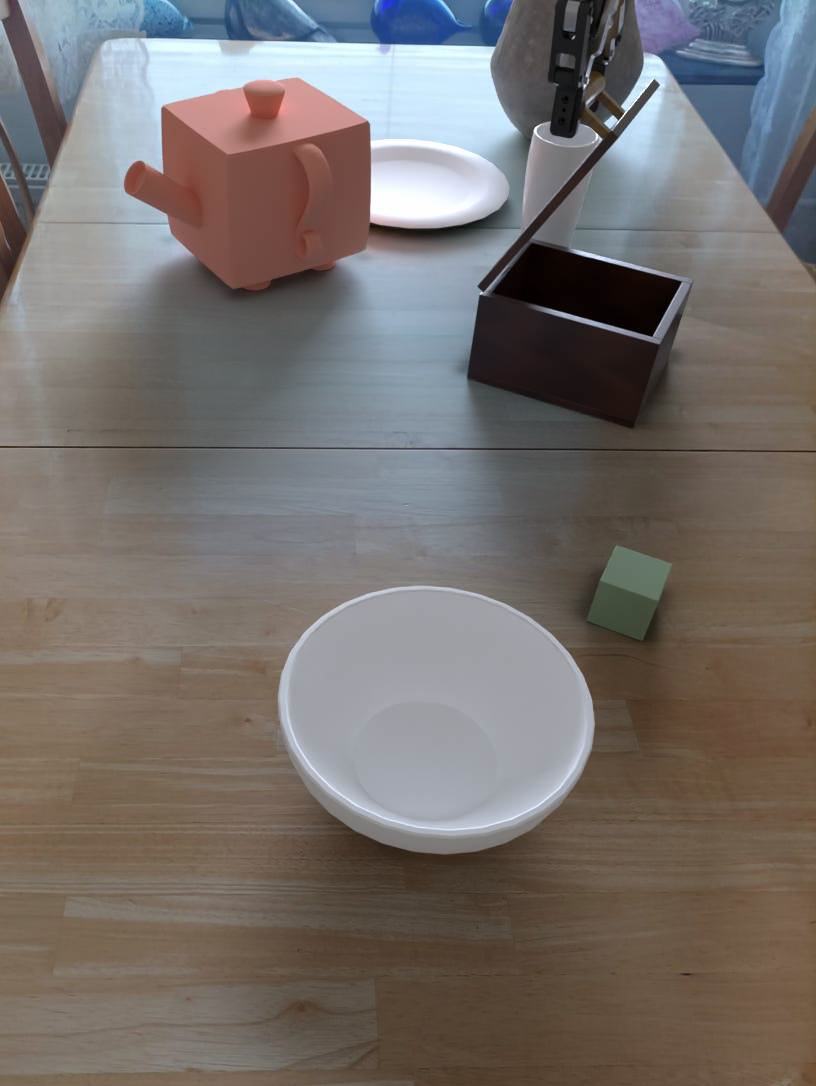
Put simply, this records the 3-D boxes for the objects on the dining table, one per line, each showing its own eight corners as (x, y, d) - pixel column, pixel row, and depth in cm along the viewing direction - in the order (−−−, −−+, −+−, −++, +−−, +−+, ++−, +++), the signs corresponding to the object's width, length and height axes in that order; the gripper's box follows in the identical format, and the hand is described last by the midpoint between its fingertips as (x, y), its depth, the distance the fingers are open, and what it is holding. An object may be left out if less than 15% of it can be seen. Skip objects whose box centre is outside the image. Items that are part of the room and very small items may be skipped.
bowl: (341, 621, 73) (345, 553, 68) (596, 700, 69) (622, 634, 64) (229, 831, 61) (223, 768, 56) (530, 944, 57) (555, 887, 52)
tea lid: (660, 84, 82) (615, 39, 81) (618, 137, 74) (568, 88, 74) (529, 235, 96) (490, 197, 95) (483, 292, 88) (439, 252, 88)
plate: (268, 184, 122) (268, 171, 121) (409, 135, 133) (411, 122, 132) (407, 262, 110) (408, 247, 109) (549, 200, 121) (552, 187, 120)
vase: (555, 177, 126) (601, -53, 107) (454, 127, 136) (479, -92, 117) (651, 141, 135) (709, -78, 116) (550, 97, 144) (588, -112, 125)
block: (657, 604, 76) (673, 563, 72) (642, 641, 73) (658, 601, 70) (602, 585, 77) (616, 544, 74) (585, 621, 74) (599, 580, 71)
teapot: (189, 342, 98) (171, 160, 84) (95, 248, 110) (67, 76, 97) (390, 279, 107) (403, 106, 94) (283, 199, 120) (282, 36, 106)
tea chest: (667, 362, 98) (694, 279, 92) (633, 429, 91) (660, 344, 84) (511, 318, 103) (526, 236, 96) (466, 378, 95) (479, 294, 89)
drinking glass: (503, 282, 108) (527, 141, 96) (514, 254, 112) (538, 116, 101) (563, 293, 107) (595, 151, 95) (572, 264, 111) (604, 125, 100)
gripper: (645, -105, 63) (592, 163, 76) (696, -145, 72) (641, 101, 84) (535, -118, 65) (502, 145, 78) (597, -155, 74) (558, 87, 86)
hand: (574, 121), depth 81 cm, fingers closed on tea lid, 5 cm apart
